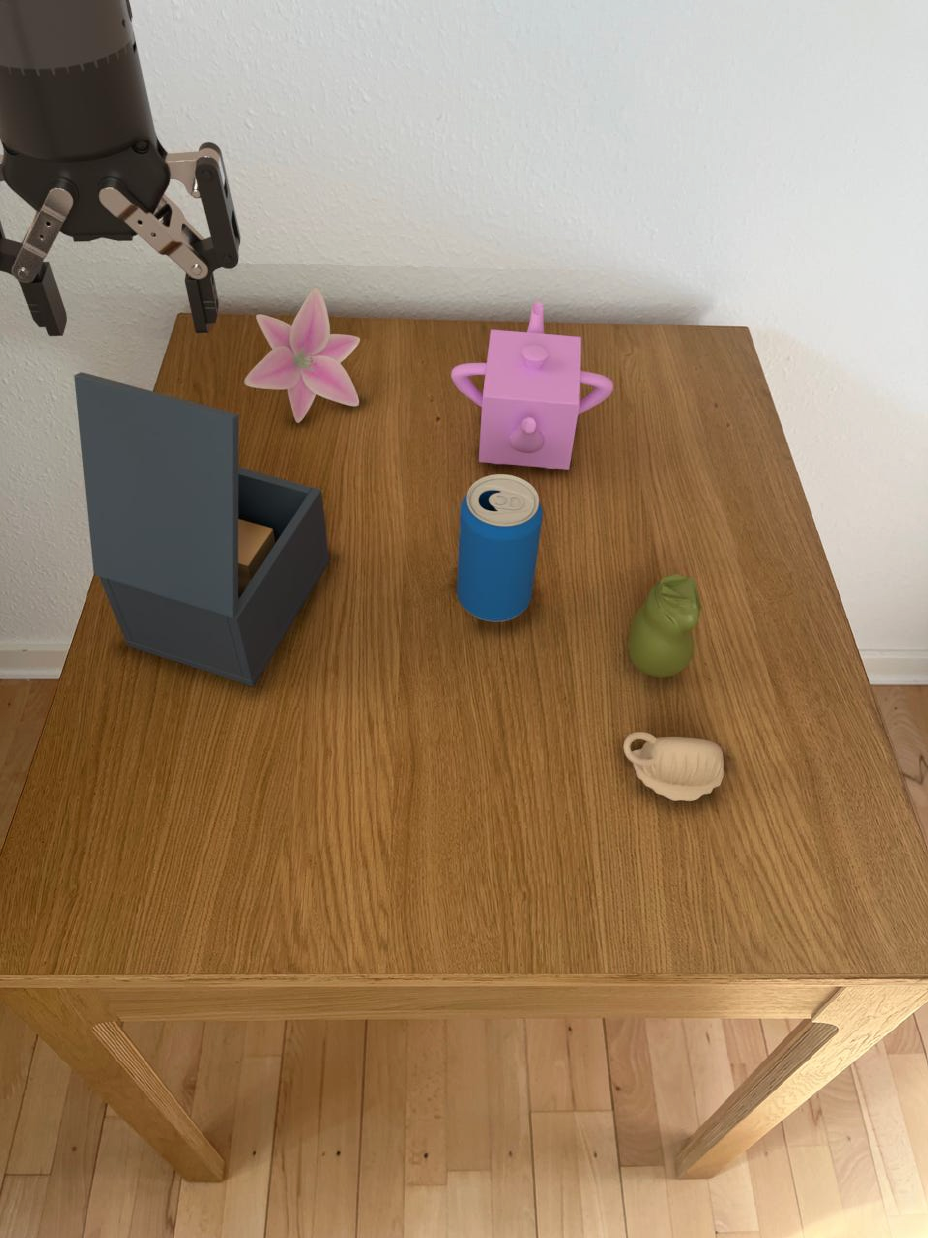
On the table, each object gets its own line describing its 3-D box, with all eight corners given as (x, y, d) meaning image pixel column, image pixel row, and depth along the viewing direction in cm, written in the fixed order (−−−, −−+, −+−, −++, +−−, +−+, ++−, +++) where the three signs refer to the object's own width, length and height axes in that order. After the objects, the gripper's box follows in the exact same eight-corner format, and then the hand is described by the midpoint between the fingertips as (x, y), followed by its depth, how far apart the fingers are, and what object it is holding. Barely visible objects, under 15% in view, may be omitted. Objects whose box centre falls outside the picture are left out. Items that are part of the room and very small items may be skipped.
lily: (233, 427, 96) (250, 382, 88) (238, 326, 100) (254, 273, 91) (347, 445, 101) (373, 404, 92) (348, 348, 104) (373, 299, 96)
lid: (81, 371, 62) (73, 374, 62) (239, 413, 60) (232, 417, 59) (99, 569, 71) (93, 574, 70) (238, 612, 69) (232, 618, 68)
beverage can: (462, 566, 84) (467, 465, 75) (533, 575, 84) (547, 475, 75) (451, 621, 80) (455, 523, 71) (527, 631, 80) (540, 533, 71)
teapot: (427, 423, 96) (428, 332, 88) (530, 379, 101) (540, 288, 93) (518, 512, 89) (529, 422, 80) (624, 459, 94) (644, 369, 86)
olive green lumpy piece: (620, 635, 80) (641, 555, 72) (682, 638, 80) (710, 559, 72) (625, 689, 77) (648, 612, 69) (690, 692, 77) (720, 616, 69)
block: (208, 586, 81) (198, 551, 77) (233, 550, 84) (225, 514, 80) (256, 601, 80) (248, 565, 77) (279, 564, 83) (273, 528, 79)
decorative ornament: (723, 806, 70) (743, 770, 66) (612, 793, 71) (624, 757, 66) (720, 759, 73) (738, 722, 69) (612, 747, 73) (624, 709, 69)
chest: (213, 527, 86) (195, 454, 79) (329, 561, 84) (321, 489, 77) (126, 646, 78) (98, 575, 71) (253, 687, 76) (236, 619, 69)
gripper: (-134, 61, 41) (-3, 368, 54) (197, 61, 43) (248, 361, 55) (-88, -3, 46) (22, 294, 59) (209, -1, 47) (254, 289, 60)
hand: (132, 326), depth 57 cm, fingers open, 8 cm apart
